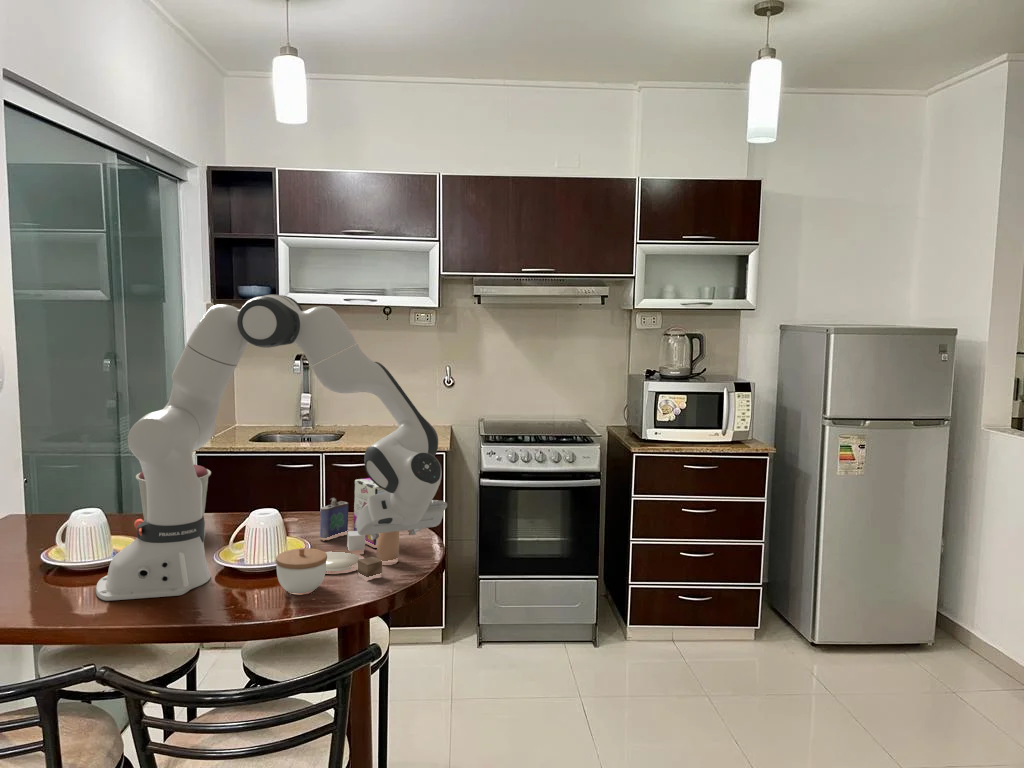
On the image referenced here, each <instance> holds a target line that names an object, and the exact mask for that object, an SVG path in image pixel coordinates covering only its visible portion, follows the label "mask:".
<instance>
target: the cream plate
mask: <svg viewBox="0 0 1024 768" xmlns="http://www.w3.org/2000/svg"><path fill="white" fill-rule="evenodd" d="M324 552H325V553H326V554H327V561H326V571H327V572H328V571H329V572H330V571H341V570H347V569H351V568H352V567H351V566H352V565H354V564H356V563H358V560H360V559H359V557H358V556H357V555H355V554H351V553H345V552H332V551H331V550H329V551H324ZM349 566H350V567H351V568H350V567H349ZM348 567H349V568H348ZM353 568H354V567H353Z"/></svg>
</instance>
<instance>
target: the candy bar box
mask: <svg viewBox="0 0 1024 768" xmlns="http://www.w3.org/2000/svg"><path fill="white" fill-rule="evenodd" d="M385 491H386V490H384V489H382V488H380V487H379V486H377V485H376V484H375V483H374V482H373V481H372V480H371V479H370V478H369V477H366V478H358V479H357V478H356V479H355V480H354V495H353V497H354V498H353V500H354V501H353V502H354V503H353V504H354V505H353V507H354V508H353V531H357V528H356V519H357V516H358V514H359V513H360V511H361V509H362V508H363V507H364V506H365V505H367V504H368V501H367V500H368V497H370V496H372V495H376V494H379V493H383V492H385ZM365 540H366V541H368V542H370V543H372V544H374V545H376V544H377V539H374V540H371V536H370V534H369V535H365Z"/></svg>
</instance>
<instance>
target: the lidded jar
mask: <svg viewBox="0 0 1024 768" xmlns="http://www.w3.org/2000/svg"><path fill="white" fill-rule="evenodd" d="M325 552H326V551H323V550H321V549H317V548H310V547H307V548H304V547H299V548H293V549H289V550H285V551H282V552H281V553H279V554H277V556H276V557H275V564H276V576H277V580H278V583H279V584H280V586H281V587H282V588H283V589H284V590H285V591H286V592H287V591H288V592H291V593H306V592H310V591H313V590H315V589H316V590H317V589H318V587H320V586H321V584H322V583H323V581H324V579H325V576H326V575H325V572H326V561H327V554H326V553H325ZM316 590H315V591H316Z"/></svg>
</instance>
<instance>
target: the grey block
mask: <svg viewBox="0 0 1024 768" xmlns="http://www.w3.org/2000/svg"><path fill="white" fill-rule="evenodd" d="M346 536H347V537H346V538H347V539H346V540H347V541H346V543H347V544H346V548H347V547H348V550H349V551H353V550H364V549H365V550H366V545H365V535H360V534H358V532H357V531H354V530H348V531H347V535H346Z"/></svg>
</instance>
